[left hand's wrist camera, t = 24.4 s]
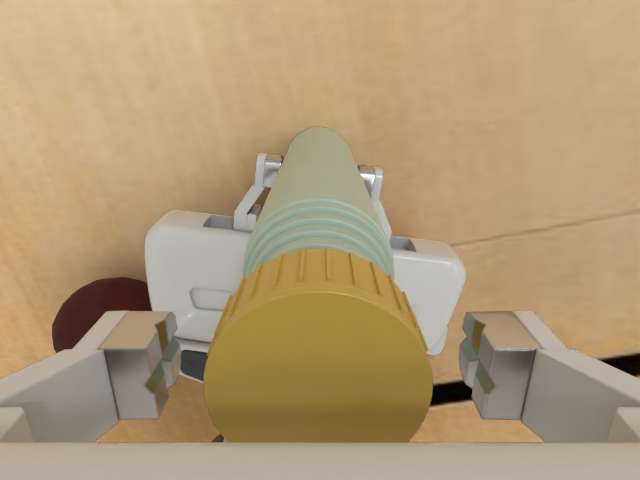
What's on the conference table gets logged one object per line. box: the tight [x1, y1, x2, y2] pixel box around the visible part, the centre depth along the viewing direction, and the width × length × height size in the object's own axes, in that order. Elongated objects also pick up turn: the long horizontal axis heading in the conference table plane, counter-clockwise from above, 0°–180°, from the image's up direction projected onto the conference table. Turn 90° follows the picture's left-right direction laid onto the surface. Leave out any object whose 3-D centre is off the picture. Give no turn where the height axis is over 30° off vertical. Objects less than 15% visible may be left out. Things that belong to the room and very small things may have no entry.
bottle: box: [243, 127, 394, 280], centre depth 20 cm, size 5×5×24 cm
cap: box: [203, 248, 433, 442], centre depth 9 cm, size 4×4×2 cm
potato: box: [52, 277, 152, 353], centre depth 32 cm, size 7×8×7 cm
